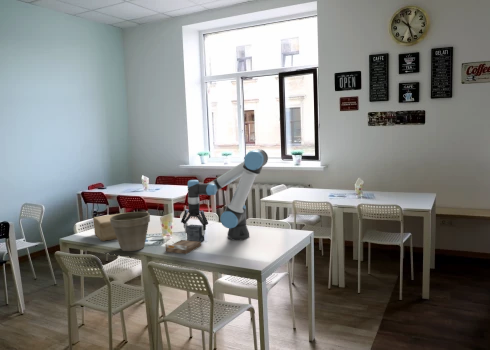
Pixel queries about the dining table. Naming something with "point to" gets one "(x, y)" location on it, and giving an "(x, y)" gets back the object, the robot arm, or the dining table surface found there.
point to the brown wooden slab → (182, 246)
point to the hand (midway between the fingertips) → (194, 233)
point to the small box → (194, 233)
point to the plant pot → (131, 229)
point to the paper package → (104, 228)
